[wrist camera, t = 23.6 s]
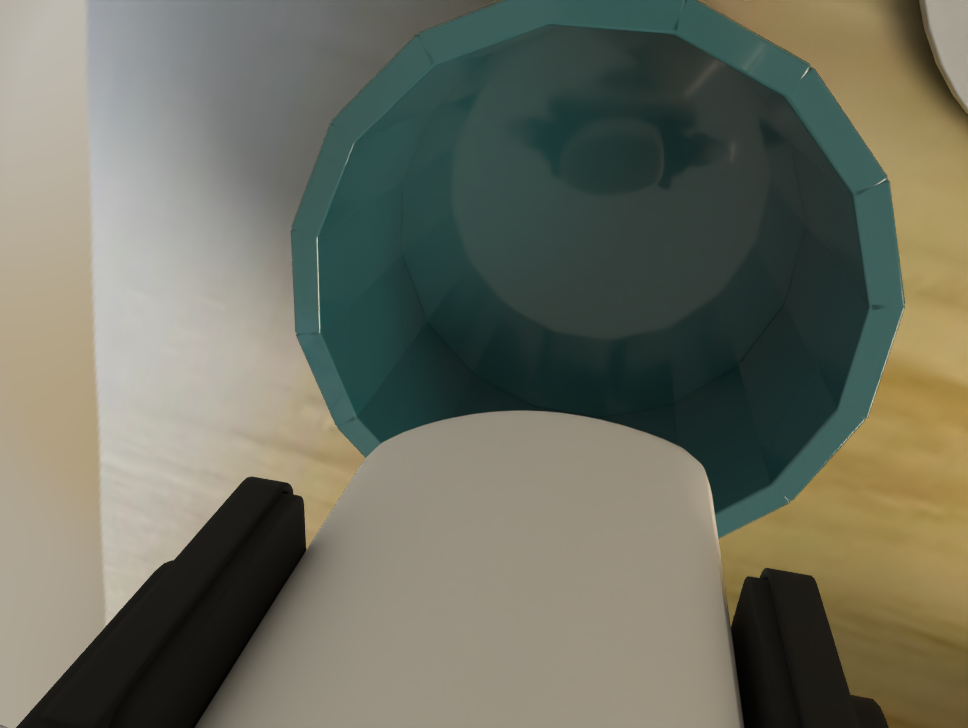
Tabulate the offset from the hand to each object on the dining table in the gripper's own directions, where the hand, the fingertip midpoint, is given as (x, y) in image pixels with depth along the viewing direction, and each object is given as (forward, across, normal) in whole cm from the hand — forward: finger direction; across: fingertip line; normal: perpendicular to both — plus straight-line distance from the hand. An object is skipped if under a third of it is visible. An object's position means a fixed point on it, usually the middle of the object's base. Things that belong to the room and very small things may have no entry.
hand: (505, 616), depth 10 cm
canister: (+19, 0, 0) cm, 19 cm away
